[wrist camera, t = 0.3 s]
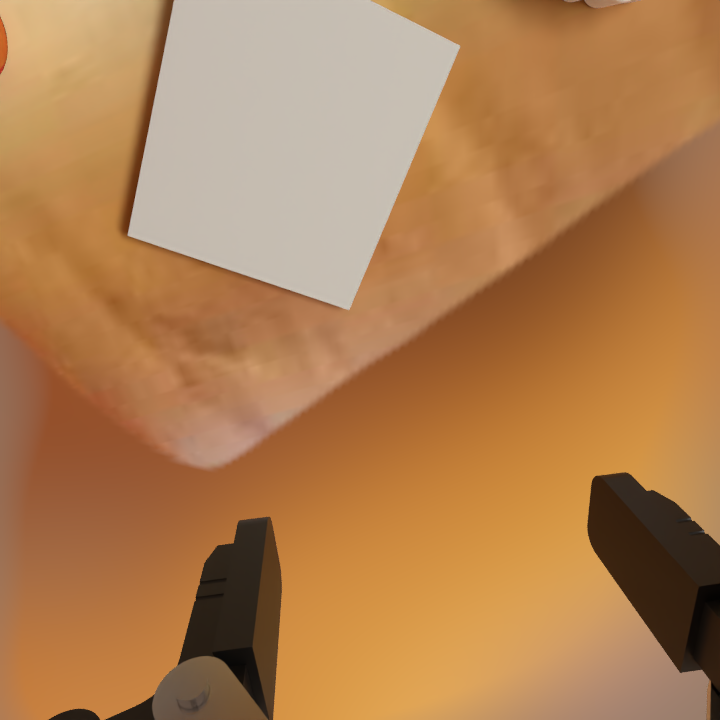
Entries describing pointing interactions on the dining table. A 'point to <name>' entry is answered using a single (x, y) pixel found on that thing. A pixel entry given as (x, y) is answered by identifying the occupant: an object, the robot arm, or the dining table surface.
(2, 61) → the paper cup
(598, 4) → the mooncake
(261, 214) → the rubber mat
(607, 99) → the dining table surface
